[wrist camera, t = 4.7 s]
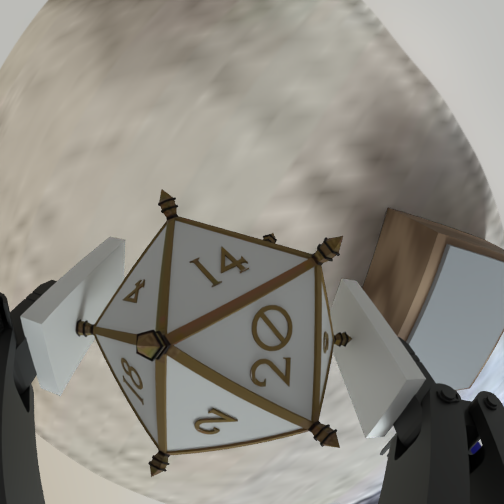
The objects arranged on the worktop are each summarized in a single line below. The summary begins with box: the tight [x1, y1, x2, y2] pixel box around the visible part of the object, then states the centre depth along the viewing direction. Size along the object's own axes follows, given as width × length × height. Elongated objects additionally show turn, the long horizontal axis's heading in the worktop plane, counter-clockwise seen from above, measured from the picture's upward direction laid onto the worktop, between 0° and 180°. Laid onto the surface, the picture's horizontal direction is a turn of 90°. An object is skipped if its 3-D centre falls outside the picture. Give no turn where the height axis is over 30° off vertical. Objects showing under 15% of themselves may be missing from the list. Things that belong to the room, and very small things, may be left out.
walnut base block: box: [362, 208, 504, 390], centre depth 21 cm, size 13×13×7 cm
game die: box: [75, 190, 352, 477], centre depth 9 cm, size 9×8×10 cm
